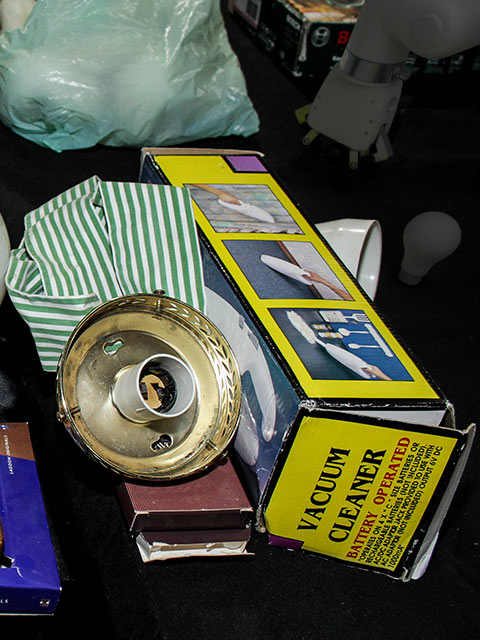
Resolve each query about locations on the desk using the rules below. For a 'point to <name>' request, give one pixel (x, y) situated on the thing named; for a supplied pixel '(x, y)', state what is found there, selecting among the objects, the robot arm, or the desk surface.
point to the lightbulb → (427, 244)
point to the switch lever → (336, 152)
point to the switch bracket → (379, 166)
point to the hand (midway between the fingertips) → (324, 175)
